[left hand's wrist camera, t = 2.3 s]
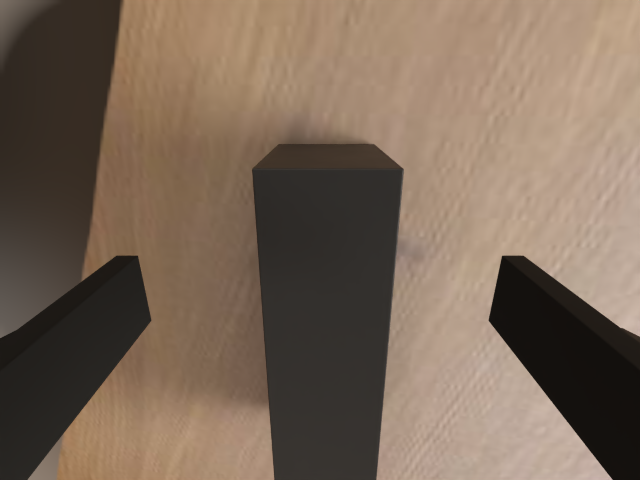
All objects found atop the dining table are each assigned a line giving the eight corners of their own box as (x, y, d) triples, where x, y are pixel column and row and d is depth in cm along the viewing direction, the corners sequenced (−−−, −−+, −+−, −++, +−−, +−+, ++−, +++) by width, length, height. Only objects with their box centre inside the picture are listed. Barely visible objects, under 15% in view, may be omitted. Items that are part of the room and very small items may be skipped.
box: (278, 144, 22) (251, 168, 14) (374, 144, 22) (404, 168, 14) (289, 410, 30) (277, 521, 22) (359, 411, 30) (372, 522, 22)
